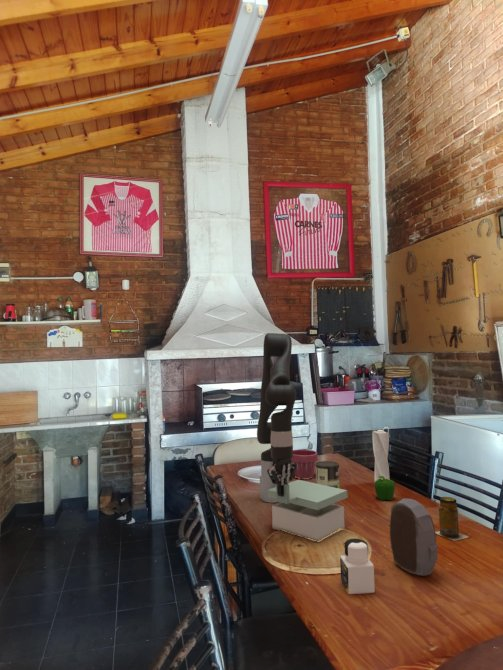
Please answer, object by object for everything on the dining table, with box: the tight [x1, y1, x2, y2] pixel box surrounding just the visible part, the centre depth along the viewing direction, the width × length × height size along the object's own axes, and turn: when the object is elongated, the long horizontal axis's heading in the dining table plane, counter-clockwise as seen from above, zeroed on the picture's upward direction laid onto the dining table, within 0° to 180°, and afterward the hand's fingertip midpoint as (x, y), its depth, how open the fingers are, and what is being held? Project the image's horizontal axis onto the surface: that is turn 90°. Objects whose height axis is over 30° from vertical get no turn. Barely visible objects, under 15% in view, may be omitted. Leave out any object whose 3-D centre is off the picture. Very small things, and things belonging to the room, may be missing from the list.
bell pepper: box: [374, 476, 396, 501], centre depth 197 cm, size 8×8×10 cm
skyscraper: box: [371, 426, 391, 482], centre depth 215 cm, size 8×8×28 cm
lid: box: [268, 479, 348, 510], centre depth 163 cm, size 22×23×8 cm
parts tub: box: [271, 502, 346, 541], centre depth 165 cm, size 20×16×8 cm
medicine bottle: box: [339, 538, 375, 595], centre depth 123 cm, size 7×7×12 cm
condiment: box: [435, 496, 469, 542], centre depth 157 cm, size 7×8×12 cm
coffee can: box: [315, 460, 340, 489], centre depth 203 cm, size 10×10×14 cm
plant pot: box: [291, 449, 318, 478], centre depth 235 cm, size 14×14×13 cm
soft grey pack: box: [389, 497, 438, 577], centre depth 132 cm, size 15×8×20 cm, turn 23°
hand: (282, 495), depth 156 cm, fingers closed on lid, 1 cm apart
